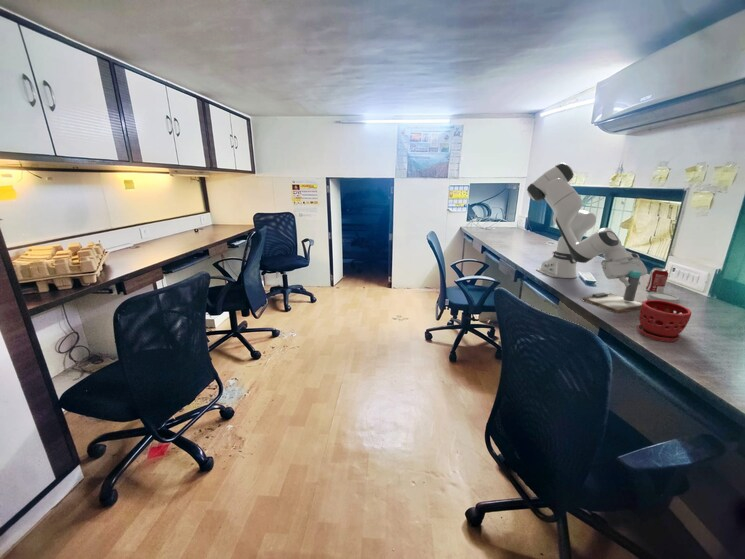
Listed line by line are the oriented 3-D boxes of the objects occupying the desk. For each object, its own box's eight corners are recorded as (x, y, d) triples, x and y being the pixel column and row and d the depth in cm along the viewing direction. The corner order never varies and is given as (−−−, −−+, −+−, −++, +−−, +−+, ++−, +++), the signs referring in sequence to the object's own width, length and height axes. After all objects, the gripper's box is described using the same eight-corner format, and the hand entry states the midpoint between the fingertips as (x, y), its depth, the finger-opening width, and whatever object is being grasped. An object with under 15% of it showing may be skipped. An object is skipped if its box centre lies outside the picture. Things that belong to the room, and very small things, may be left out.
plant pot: (626, 331, 118) (634, 302, 114) (648, 326, 122) (657, 297, 119) (667, 348, 106) (677, 315, 103) (690, 341, 110) (701, 310, 107)
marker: (620, 298, 144) (627, 271, 140) (626, 297, 145) (633, 270, 141) (630, 301, 140) (637, 273, 136) (636, 300, 141) (643, 272, 137)
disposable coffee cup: (633, 318, 129) (641, 291, 125) (657, 319, 128) (665, 291, 125) (652, 329, 120) (661, 300, 116) (678, 329, 119) (687, 300, 116)
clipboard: (582, 300, 149) (583, 295, 148) (610, 295, 155) (611, 291, 154) (617, 313, 134) (618, 307, 134) (646, 307, 140) (647, 302, 140)
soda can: (666, 294, 156) (673, 271, 153) (650, 293, 158) (657, 270, 154) (657, 289, 163) (663, 267, 159) (642, 289, 164) (648, 267, 160)
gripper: (605, 256, 141) (620, 283, 135) (641, 254, 145) (657, 280, 139) (594, 263, 147) (608, 290, 140) (629, 261, 151) (644, 286, 145)
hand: (633, 285), depth 140 cm, fingers closed on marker, 4 cm apart
